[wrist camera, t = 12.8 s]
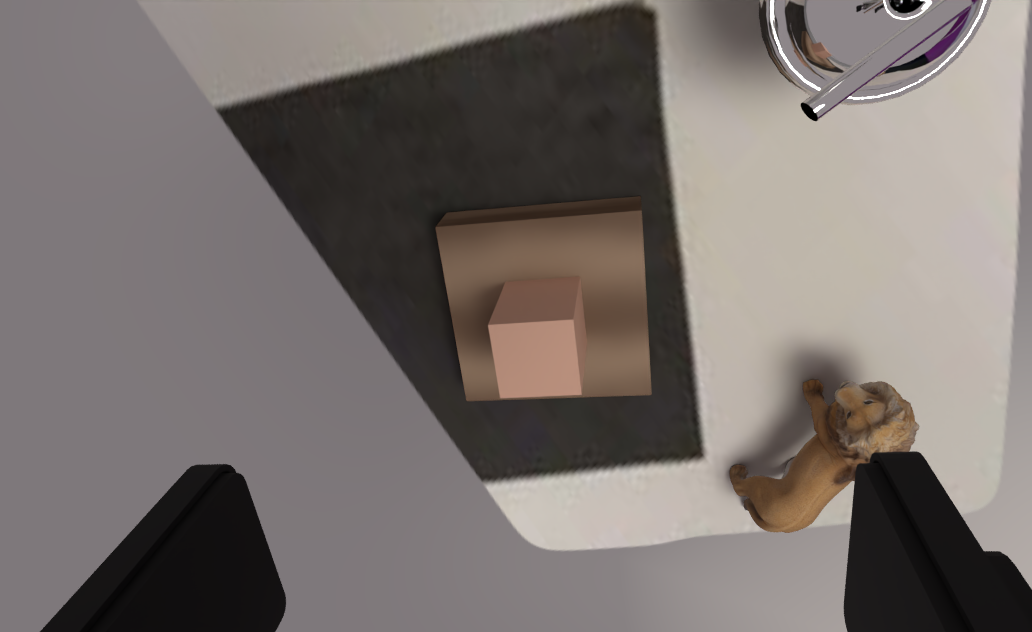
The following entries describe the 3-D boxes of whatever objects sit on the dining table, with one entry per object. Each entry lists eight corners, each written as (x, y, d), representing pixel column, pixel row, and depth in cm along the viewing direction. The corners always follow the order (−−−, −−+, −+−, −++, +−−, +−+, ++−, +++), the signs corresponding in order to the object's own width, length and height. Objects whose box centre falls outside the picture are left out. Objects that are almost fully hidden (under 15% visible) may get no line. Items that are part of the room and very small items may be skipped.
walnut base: (446, 212, 44) (435, 227, 41) (640, 196, 42) (641, 210, 39) (475, 378, 49) (466, 401, 46) (649, 371, 47) (651, 394, 44)
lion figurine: (819, 321, 44) (863, 397, 36) (898, 352, 44) (959, 434, 36) (712, 491, 50) (729, 588, 42) (781, 518, 50) (811, 619, 42)
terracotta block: (505, 281, 42) (488, 324, 37) (579, 276, 41) (573, 319, 36) (515, 347, 44) (500, 398, 39) (587, 344, 43) (581, 394, 38)
